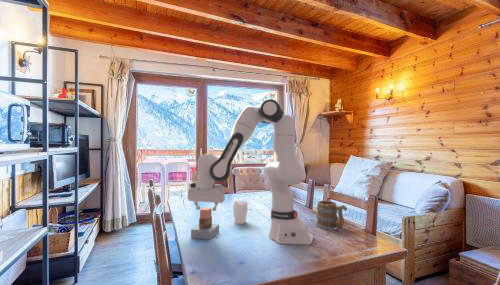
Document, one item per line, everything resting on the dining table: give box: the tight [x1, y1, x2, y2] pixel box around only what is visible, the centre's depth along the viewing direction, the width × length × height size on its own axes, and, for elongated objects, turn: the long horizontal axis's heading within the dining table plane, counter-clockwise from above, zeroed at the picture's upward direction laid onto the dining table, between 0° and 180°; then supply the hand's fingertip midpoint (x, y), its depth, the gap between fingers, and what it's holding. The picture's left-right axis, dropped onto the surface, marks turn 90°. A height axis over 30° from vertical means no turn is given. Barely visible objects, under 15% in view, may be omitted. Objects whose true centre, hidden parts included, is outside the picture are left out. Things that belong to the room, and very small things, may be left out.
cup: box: [232, 200, 249, 225], centre depth 146 cm, size 9×9×12 cm
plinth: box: [190, 223, 220, 240], centre depth 125 cm, size 11×11×4 cm
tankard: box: [315, 200, 348, 230], centre depth 137 cm, size 20×13×15 cm, turn 27°
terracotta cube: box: [199, 207, 212, 219], centre depth 126 cm, size 4×4×4 cm
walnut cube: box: [198, 216, 213, 229], centre depth 125 cm, size 5×5×5 cm
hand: (206, 209), depth 126 cm, fingers open, 8 cm apart
